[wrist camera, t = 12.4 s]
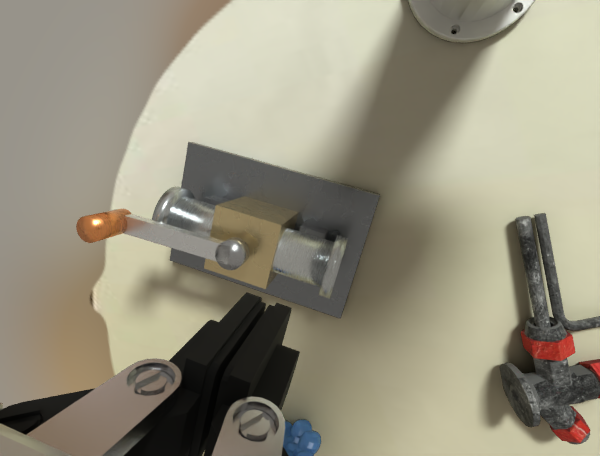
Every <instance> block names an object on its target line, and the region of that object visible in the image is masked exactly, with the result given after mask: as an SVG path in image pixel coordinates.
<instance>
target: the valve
mask: <svg viewBox="0 0 600 456" xmlns="http://www.w3.org/2000/svg"><path fill="white" fill-rule="evenodd" d="M534 216H535V222H536V227H537V233H538V238H539V243H540V249H541V254H542V259H543V265H544V270H545V275H546V281H547V286H548V291H549V297H550V302H551V307H552V313H553V316H554V318H552V317H549V314H548V309H547V303H546V298H545V293H544V287H543V282H542V277H541V271H540V266H539V261H538V255H537V250H536V245H535V240H534V234H533V229H532V224H531V218H530V217H529V216H522V217H518V218H516V219H515V220H516V225H517V230H518V236H519V241H520V246H521V251H522V256H523V261H524V267H525V272H526V277H527V282H528V287H529V293H530V298H531V303H532V308H533V313H534V317H532V318H530V319H528V320H527V321H526V325H525V329H524V330H522V331H520V332H521V337H522V342H523V347H524V348H525V349H526V350H527V351H528V352H529V353H530V354H531V355H532V356H533V360H534V364H535V369H536V372H532V373H526V374H524V373H521V372H520V371H519V369H518V368H517V367H516V366H514V365H513V364H511V363H505V364H501V366H500V372H501V377H502V383H503V388H504V391H505V393H506V396H507V398H508V400H509V402H510V404H511V406H512V408H513V409H514V411H515V413H516V414H517V416H518V417H519V418H520V420H521V421H522V422H523V423H524V424H525V425H526V426H528V427H534V426H538V425H539V424H540V415H541V416H542V417H543V418H544V419H545V420H546V421H547V422H548V423H549V425H550V428H551V430H552V431H553V432H554V433H555V434H556V435H557V436H558V437H559V438H560V439H561V440H562V441H567V442H569V443H571V444H581V443H583V442H585V441H586V440H587V439H588V438H589V436H590V429H589V427H588V425H587V424H586V422H585V420H584V419H583V417H582V416H581V415H580V414H579V413H578V412H577V411H576V410H575V409H574V408H573V406H569V404H576V403H582V402H584V401H585V400H591V399H597V398H599V399H600V359H597V360H591V361H584V362H579V365H576V366H570V367H569V366H568V360H567V357H569V356H570V355H572V354H574V353H575V348H574V342H573V337H572V335H571V334H570V333H569V332H567V331H566V330H565V329H567V330H572V331H576V330H583V329H589V328H594V327H599V326H600V316H599V317H594V318H588V319H583V320H578V321H569V320H567V319H566V318H565V315H564V311H563V306H562V300H561V295H560V289H559V284H558V278H557V273H556V267H555V262H554V257H553V251H552V246H551V240H550V235H549V229H548V224H547V218H546V214H545V213H541V214H536V215H534ZM564 328H565V329H564Z"/></svg>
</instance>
